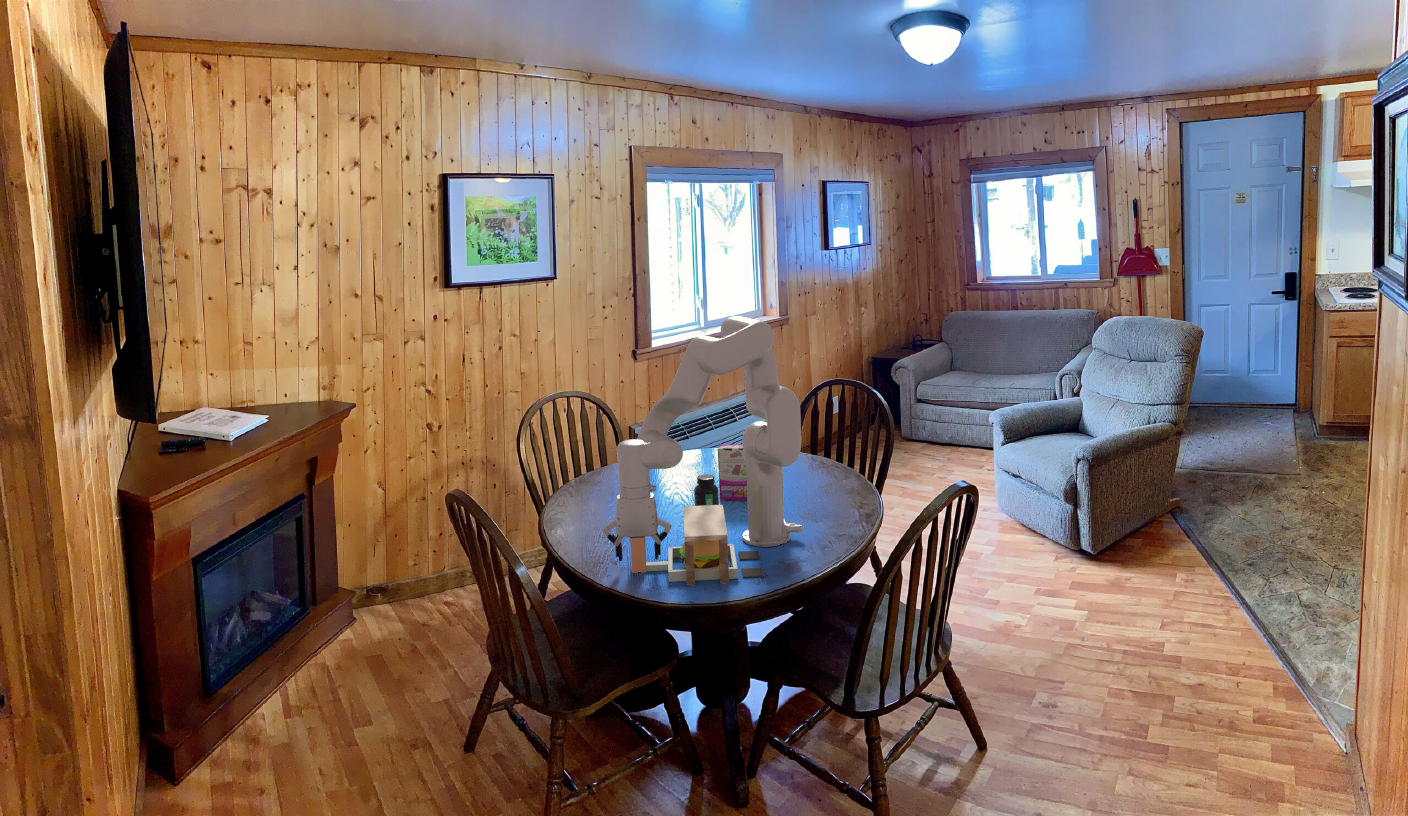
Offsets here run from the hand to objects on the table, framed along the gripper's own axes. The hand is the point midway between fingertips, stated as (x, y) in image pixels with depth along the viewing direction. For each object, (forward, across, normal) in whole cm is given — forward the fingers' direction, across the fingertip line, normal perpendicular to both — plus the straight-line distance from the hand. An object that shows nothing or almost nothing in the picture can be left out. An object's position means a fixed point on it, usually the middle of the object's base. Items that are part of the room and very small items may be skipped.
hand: (638, 558), depth 231 cm
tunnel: (+3, -16, 0) cm, 17 cm away
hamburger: (+3, -16, 0) cm, 16 cm away
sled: (+3, -11, 0) cm, 11 cm away
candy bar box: (+3, -28, -51) cm, 58 cm away
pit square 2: (+3, -28, +6) cm, 28 cm away
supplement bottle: (+3, -18, -36) cm, 40 cm away
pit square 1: (+3, -28, -6) cm, 28 cm away
